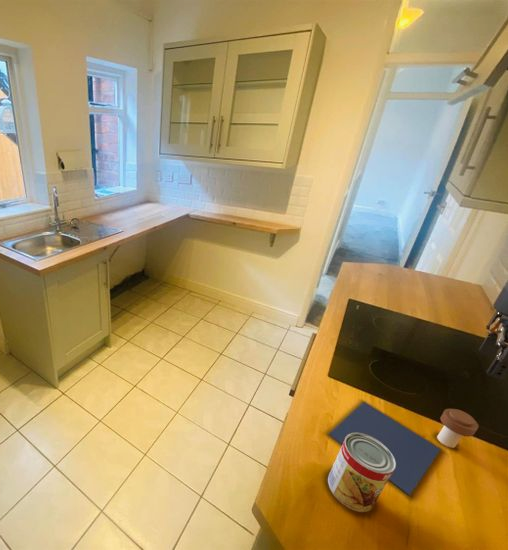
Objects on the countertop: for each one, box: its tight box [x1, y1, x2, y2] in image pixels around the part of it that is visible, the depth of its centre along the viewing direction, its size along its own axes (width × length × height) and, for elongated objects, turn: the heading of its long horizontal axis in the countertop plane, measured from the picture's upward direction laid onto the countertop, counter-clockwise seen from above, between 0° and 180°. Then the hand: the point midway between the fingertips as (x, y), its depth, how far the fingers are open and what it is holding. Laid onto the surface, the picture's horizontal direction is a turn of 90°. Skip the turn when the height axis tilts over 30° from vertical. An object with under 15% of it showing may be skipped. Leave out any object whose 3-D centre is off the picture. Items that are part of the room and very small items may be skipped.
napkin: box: [328, 401, 442, 496], centre depth 71 cm, size 18×16×1 cm
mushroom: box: [436, 408, 479, 449], centre depth 69 cm, size 6×6×8 cm
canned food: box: [327, 433, 396, 513], centre depth 58 cm, size 8×8×12 cm
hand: (489, 364), depth 59 cm, fingers open, 8 cm apart
